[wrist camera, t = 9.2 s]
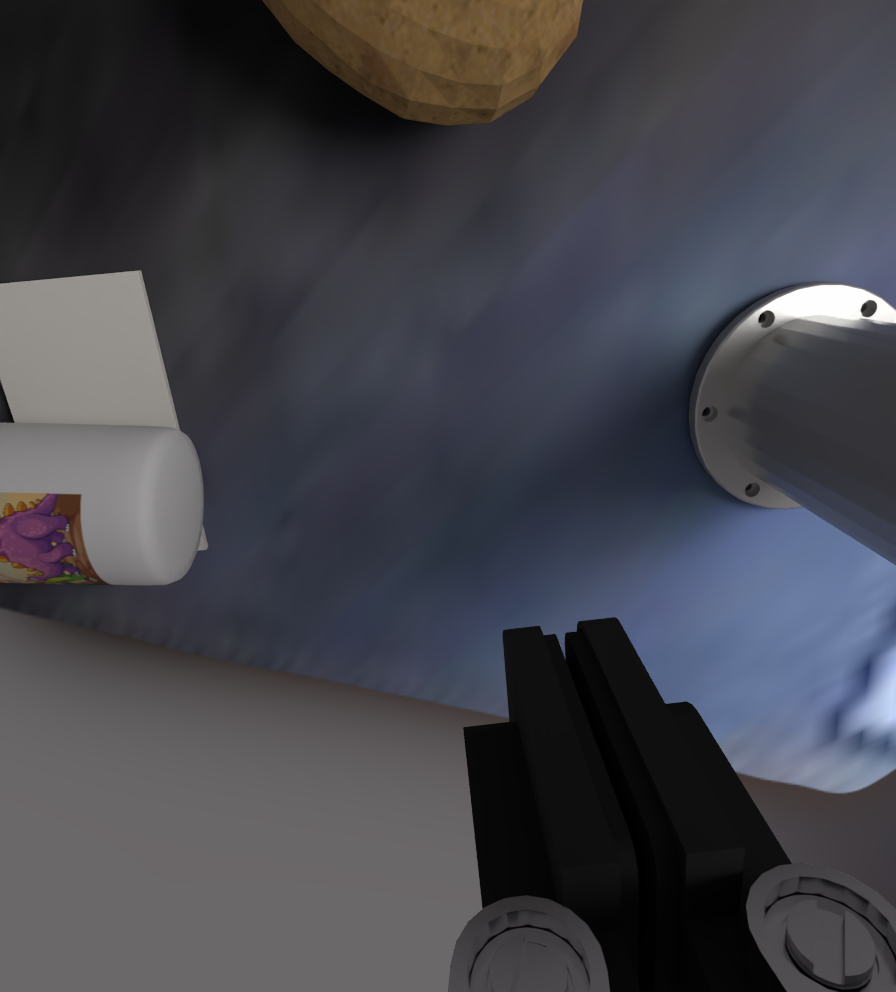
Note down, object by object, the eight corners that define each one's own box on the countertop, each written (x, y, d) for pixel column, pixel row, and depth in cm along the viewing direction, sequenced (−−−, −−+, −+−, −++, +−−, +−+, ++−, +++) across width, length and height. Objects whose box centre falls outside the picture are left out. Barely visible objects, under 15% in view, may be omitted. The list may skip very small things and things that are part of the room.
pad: (141, 270, 32) (138, 270, 32) (208, 546, 38) (206, 549, 37) (-26, 286, 32) (-31, 286, 31) (66, 562, 37) (62, 565, 37)
